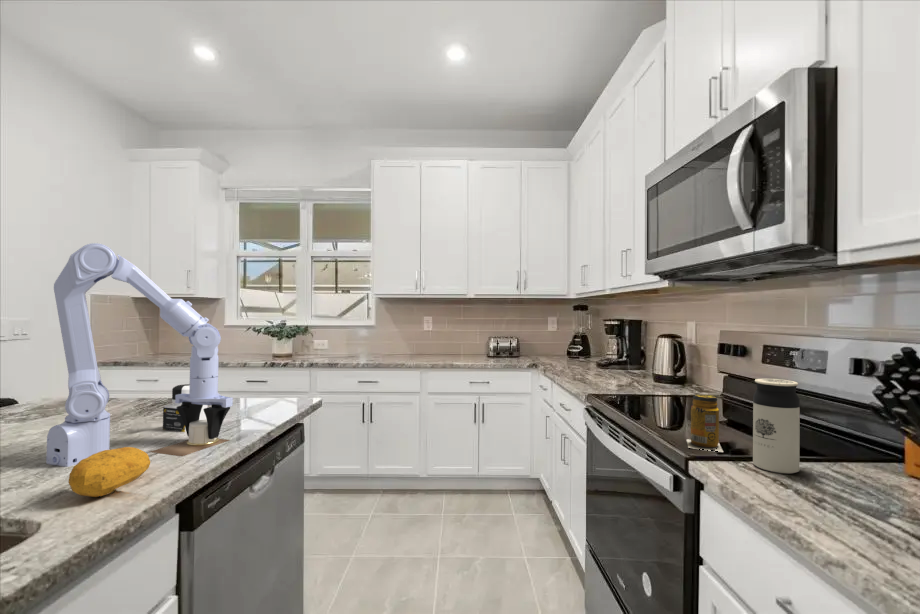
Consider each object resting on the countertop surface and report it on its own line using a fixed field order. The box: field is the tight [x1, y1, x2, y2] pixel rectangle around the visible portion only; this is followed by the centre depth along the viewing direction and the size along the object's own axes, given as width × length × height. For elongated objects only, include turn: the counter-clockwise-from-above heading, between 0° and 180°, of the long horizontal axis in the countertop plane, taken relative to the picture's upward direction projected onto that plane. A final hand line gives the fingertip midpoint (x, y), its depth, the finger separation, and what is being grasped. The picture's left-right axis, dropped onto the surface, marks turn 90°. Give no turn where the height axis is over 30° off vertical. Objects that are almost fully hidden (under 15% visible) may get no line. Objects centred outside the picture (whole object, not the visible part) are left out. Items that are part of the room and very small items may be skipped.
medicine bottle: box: [162, 383, 209, 433], centre depth 119 cm, size 7×7×12 cm
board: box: [149, 438, 231, 457], centre depth 103 cm, size 13×9×1 cm
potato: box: [68, 446, 151, 498], centre depth 80 cm, size 8×14×7 cm, turn 172°
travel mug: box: [752, 378, 801, 475], centre depth 97 cm, size 8×8×18 cm
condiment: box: [686, 393, 724, 453], centre depth 112 cm, size 7×8×12 cm
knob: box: [186, 437, 220, 446], centre depth 106 cm, size 6×6×3 cm
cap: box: [188, 420, 216, 444], centre depth 106 cm, size 5×5×4 cm
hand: (202, 436), depth 106 cm, fingers closed on cap, 5 cm apart
